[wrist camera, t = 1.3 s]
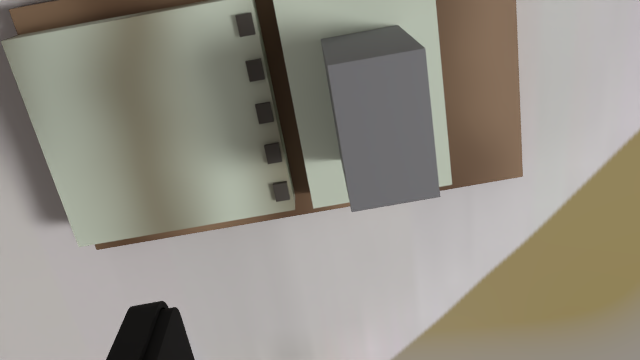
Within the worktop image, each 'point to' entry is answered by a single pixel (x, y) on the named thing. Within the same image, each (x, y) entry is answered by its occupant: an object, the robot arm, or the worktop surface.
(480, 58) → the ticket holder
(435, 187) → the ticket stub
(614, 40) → the worktop surface
